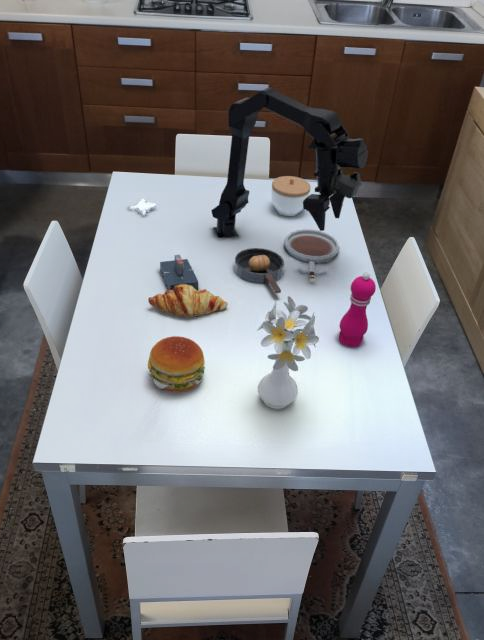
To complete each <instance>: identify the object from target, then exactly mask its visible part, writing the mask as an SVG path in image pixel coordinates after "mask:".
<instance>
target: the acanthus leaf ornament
mask: <svg viewBox="0 0 484 640" xmlns="http://www.w3.org/2000/svg"><path fill="white" fill-rule="evenodd" d="M156 207H157V204H156V203H153V202H150V201H148V202H146V199H145V198H140V200H139V201H138V202H137V204H136V205H130V206H129V210H130V211H136V212H138V214H139V215H141V216H142V217H145V216H146V215H147V213H150V211H155V210H156Z"/></svg>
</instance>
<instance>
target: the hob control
mask: <svg viewBox="0 0 484 640" xmlns="http://www.w3.org/2000/svg"><path fill="white" fill-rule="evenodd" d="M182 260H183V263H184V266H183V275H180V276H178V274H177V272H176V270H175V259H173V260H165V261H159V271H160V274H161V276H162V279H163V281H164V283H165V285H166V288H167V290H173V289H174V287H175V286H177V285H181V284H188V285H190V286H193V287H194V288H195V289H196V290H197V291H199V280H198V278H197V276H196V274H195V272H194V268H193V267H192V266H191V263H190V261H189V260H188V259H187V258H182Z"/></svg>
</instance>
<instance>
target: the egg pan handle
mask: <svg viewBox="0 0 484 640" xmlns="http://www.w3.org/2000/svg"><path fill="white" fill-rule="evenodd" d="M265 279H266V280H267V282H268V283H267V284H268V286H269V287H270V288H271V290H272V291H273V293H274V294H281V293H282V289H281V287H280V286H279V284H278V283H277V282H276V281H275V280H274V278H273V277H272V275H271V274H266V275H265Z"/></svg>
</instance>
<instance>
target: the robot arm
mask: <svg viewBox="0 0 484 640" xmlns="http://www.w3.org/2000/svg"><path fill="white" fill-rule="evenodd" d="M264 109H266V110H267V111H270V112H272V113H274V114H276V115H278V116H280V117H281V118H284V119H287V120H289V121H290V122H292V123H295V124H297V125H299V126H300V127H301V128H303V130H304V131H305V133H306V134H308V136H310V137H311V138H312V141H311V142H310V144H309V145H308V146H307V149H309V150H315V162H316V164H315V165H316V170H315V171H314V172H313V177H316V183H317V186H315V187H314V193H310V194H309V196H308V197H307V198H305V200H304V201H303V210H305V211H306V212H308V213H309V214H310V216H311V217H312V219H313V221H314V222H315V224H316V226H317V228H318V230H319V231H322V232H325V228H326V214H327V211H328V210H329V209H332V212H333V216H334V218H335V219H340V217H341V212H342V208H343V204H344V201H345V198H347V199H353V197H354V196H355V195H357V194H358V191H359V188H360V187H361V186H362V179H361V174H360V173H359V172H358V171H354V172H353V173H352V174H351V175H350V174H344V172H343V168H346V169H347V168H348V169H363V168H364V167H365V166H366V164H367V162H368V161H367V160H368V155H369V151H368V148H367V144H366V143H364V138H350V137H351V136H350V135H349V133H348V131H347V130H346V129H345V127H344V125H343V124H342V122H341V119H340V116H339V114H338V113H337V112H335V111H334V110H329V109H325V108H314V107H311V106H309V105H306V104H304V103H302V102H300V101H297V100H295V99H293V98H291V97H289V96H287V95H285V94H283V93H280V92H278V91H276V90H275V89H274V88H272V87H266V88H263V89H261V90H259V91H258V92H257V93H256V94H254V95H252V96H251V97H245V98H243V99H240V100H237V101H236V102H234V103H232V104H231V105H230V106H229V107H228V110H227V122H228V123H227V124H228V127H229V130H230V133H231V140H230V151H229V161H228V170H227V178H226V179H227V180H226V184H225V186H224V188H223V190H222V192H221V195H220V198H219V201H218V205H217V206H215V207H214V208H212V209H211V215H212V218H213V219H216V226H214V227H212V230H213V233H214V234H215V236H216V237H217V238H218V239H224V238H225V239H226V238H233V237H239V234H238V232H237V231H236V221H237V220H236V219H237V214H239V213H241V212H242V210H243V209H245V208H246V206H247V204H249V195H250V190H249V189H246V187H245V185H244V183H245V173H246V165H247V159H248V158H247V157H248V149H249V142H250V136H251V133H252V131H253V129H254V128H255V126H256V124H257V119H258V117H259V113H260V112H261V111H262V110H264ZM333 136H334V137H333ZM317 193H318V194H317Z"/></svg>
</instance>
